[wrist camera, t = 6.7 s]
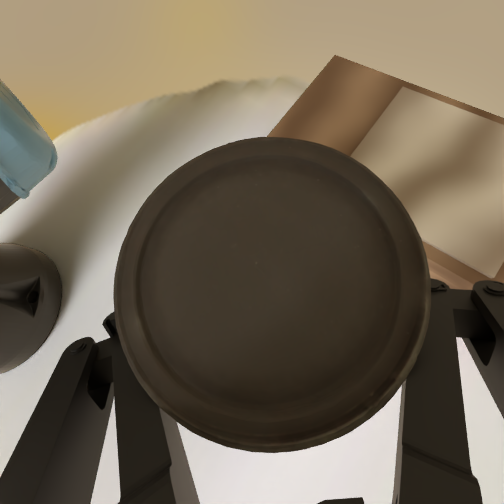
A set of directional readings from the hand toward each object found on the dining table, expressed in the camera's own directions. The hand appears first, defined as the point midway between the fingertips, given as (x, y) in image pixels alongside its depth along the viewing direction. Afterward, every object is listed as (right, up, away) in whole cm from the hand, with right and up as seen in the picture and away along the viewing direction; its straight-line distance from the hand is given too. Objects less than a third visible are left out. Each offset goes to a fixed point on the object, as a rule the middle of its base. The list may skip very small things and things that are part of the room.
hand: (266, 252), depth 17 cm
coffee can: (+1, -5, +5) cm, 6 cm away
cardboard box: (+15, +4, +10) cm, 19 cm away
